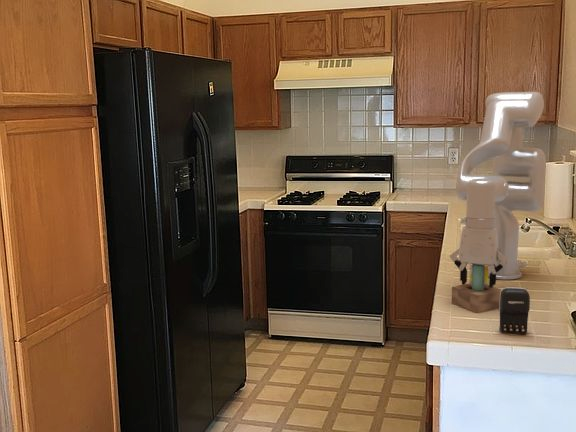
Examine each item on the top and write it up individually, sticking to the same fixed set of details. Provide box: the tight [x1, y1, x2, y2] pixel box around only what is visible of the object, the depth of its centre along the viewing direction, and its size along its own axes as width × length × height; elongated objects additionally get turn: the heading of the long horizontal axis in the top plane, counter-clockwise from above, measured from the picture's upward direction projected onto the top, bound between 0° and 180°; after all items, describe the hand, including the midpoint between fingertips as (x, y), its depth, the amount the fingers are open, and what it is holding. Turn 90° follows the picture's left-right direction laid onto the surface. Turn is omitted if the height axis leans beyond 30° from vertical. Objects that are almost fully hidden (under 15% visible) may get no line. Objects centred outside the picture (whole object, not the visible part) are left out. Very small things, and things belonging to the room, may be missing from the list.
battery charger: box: [498, 286, 531, 335], centre depth 157 cm, size 7×4×11 cm, turn 78°
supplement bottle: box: [468, 264, 489, 285], centre depth 196 cm, size 6×6×10 cm
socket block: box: [451, 283, 503, 314], centre depth 179 cm, size 10×10×5 cm
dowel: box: [472, 264, 485, 292], centre depth 179 cm, size 3×3×12 cm
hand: (477, 284), depth 179 cm, fingers open, 7 cm apart
